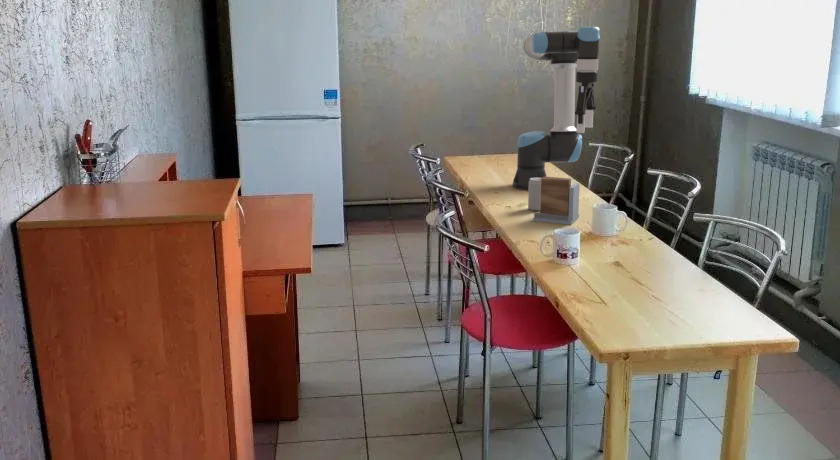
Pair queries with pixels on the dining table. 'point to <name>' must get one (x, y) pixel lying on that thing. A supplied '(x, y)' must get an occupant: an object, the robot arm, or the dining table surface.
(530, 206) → the beverage can
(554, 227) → the dining table surface
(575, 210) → the door track
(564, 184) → the door panel
